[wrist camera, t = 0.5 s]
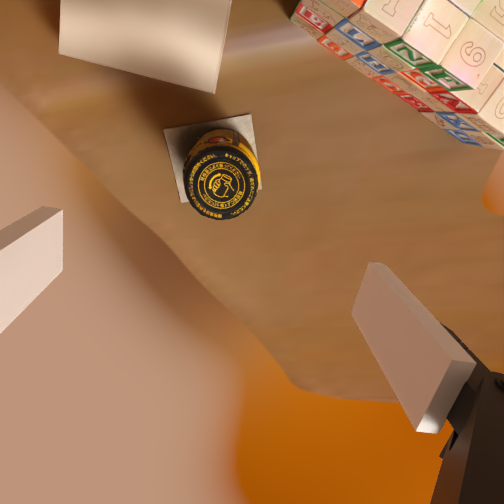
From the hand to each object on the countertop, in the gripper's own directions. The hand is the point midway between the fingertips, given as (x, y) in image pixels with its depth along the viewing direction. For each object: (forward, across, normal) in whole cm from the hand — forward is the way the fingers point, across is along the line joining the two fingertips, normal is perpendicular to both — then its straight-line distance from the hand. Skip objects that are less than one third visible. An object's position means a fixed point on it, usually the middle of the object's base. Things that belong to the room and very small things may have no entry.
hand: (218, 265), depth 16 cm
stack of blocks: (+23, +14, +13) cm, 30 cm away
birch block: (+23, -8, +13) cm, 28 cm away
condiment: (+23, -1, +1) cm, 23 cm away
